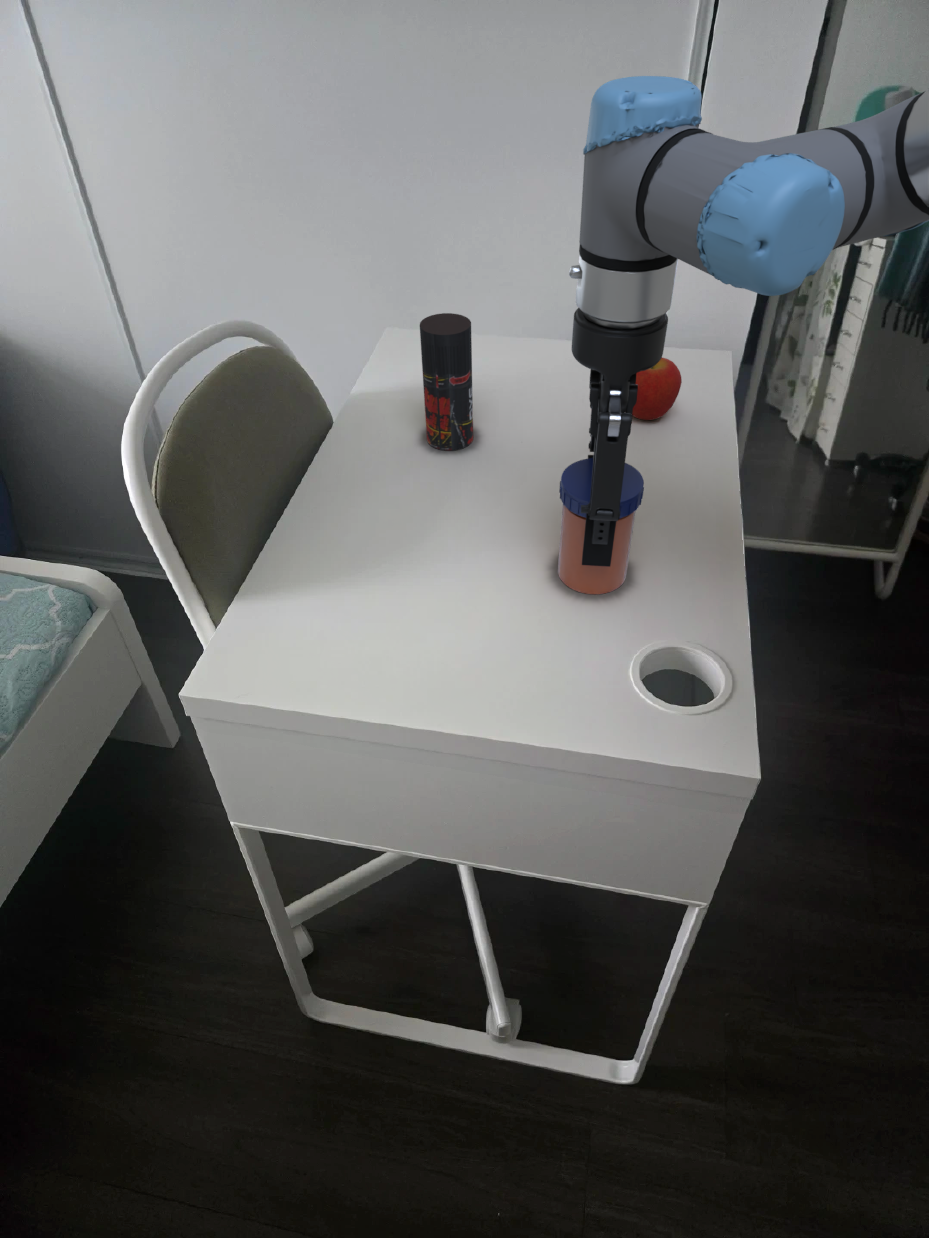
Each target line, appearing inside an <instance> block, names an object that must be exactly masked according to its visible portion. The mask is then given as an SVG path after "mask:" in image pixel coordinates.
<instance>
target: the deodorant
mask: <svg viewBox="0 0 929 1238" xmlns="http://www.w3.org/2000/svg"><path fill="white" fill-rule="evenodd" d="M419 339H420V354H421V367H422V368H421V369H422V383H423V385H422V386H423V399H424V417H425V432H426V441H427V444H429V446H430V447H431V448H432V449H433V448H434V449H435V450H438V451H443V452H444V451H445V452H454V451H459V450H462V449H465V448H467V447H469V446H470V445H471V444H472V443H473V441H474V406H473V405H474V403H473V402H474V401H473V350H472V349H473V348H472V345H473V343H472V321H471V319H470V318H468V317H467V316H465V315H462V314H459V313H451V312H449V313H448V312H443V313H435V314H431V315H429V316H426V317H424V318H423V319H422V320H421V321H420V322H419Z"/></svg>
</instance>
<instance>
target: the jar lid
mask: <svg viewBox="0 0 929 1238" xmlns="http://www.w3.org/2000/svg"><path fill="white" fill-rule="evenodd" d="M592 468H593V458H588V457H587V458H584V459H580V460H577V461H574V462H572V463H570V464H569V465H568V466H567V467H566V468H564V470H563V471H562V473H561V476H560V481H559V490H558V493H559V499H560V501H561V503H562V506H563V505H564V506H565V507H566V508H567V509H569V510H570V511H571V512H573V513H575V514H577V515H579V516H582V517H585V518H586V514H587V513H581V505H587V504H589V503H590V493H591V481H592ZM644 484H645V482H644V477H643V475H642V473H641V472H640V471H639V470H638V469H637V468H635V467H634V466H632V465H631V464H629V463H627V462H625V467H624V475H623V484H622V492H621V501H620V517H619V518H623V517H625V516H628V515H630V514H632V513H633V512H634V511H636V512H637V510H638V508H639V507H640V506H641V505H642V500H643V499H644V498H643V497H644V491H645V487H644Z"/></svg>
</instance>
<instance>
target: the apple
mask: <svg viewBox="0 0 929 1238" xmlns="http://www.w3.org/2000/svg"><path fill="white" fill-rule="evenodd" d="M682 383H683V381H682V374H681V371H680V369H679V368H678V366H677V365H676V363H675V362H674V361H672V360H671V359H669V358H666V357H662V358H661V359H660V361H659V362H658V363H657V364H656V365H655V366H653V367H651V368H650V369H647V370H645V371H640V372H637V376H636V384H638V392H637V402H636V404H635V406H634V407H633V413H632V417H634V418H636V419H638V420H644V421H652V420H656V419H659V418H662V417H663V416H665V415H666V414H667V413H668V412H669V411H670V410H671V408H672V407H673V406H674V404H675V402H676V400H677V398H678V396H679V393H680V392H681V391H680V390H681V387H682Z"/></svg>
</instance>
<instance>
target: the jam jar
mask: <svg viewBox="0 0 929 1238" xmlns="http://www.w3.org/2000/svg"><path fill="white" fill-rule="evenodd" d="M636 513H637V510H636V511H634V512H633V513H632V514H630V515H628V516H625V517H623V518H619V520H618V521H616V528H615V535H614V543H613V550H612V558H611V566H610V567H607V566H590V565H582V554H583V544H584V534H585V524H586V518H585V517H582V516H579V515H577V514H575V513H573V512H571V511H570V510H569V509H567V508H566V507H565V506H564V505H563V504H562V507H561V523H560V535H559V550H558V560H557V561H558V564H557V575H558V577H559V579H560V581H561V582H562V583H563V584H564V585H565V586H566V587H568V588H569V589H570V590H573V591H575V592H578V593H582V594H585V595H603V594H608V593H611V592H613V591H616V590H617V589H619V588H620V587H621V586H622V585H623V584H624V582H626V581H625V580H626V578H627V573H628V566H629V559H630V554H631V553H630V552H631V546H632V539H633V533H634V526H635V520H636Z"/></svg>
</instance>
